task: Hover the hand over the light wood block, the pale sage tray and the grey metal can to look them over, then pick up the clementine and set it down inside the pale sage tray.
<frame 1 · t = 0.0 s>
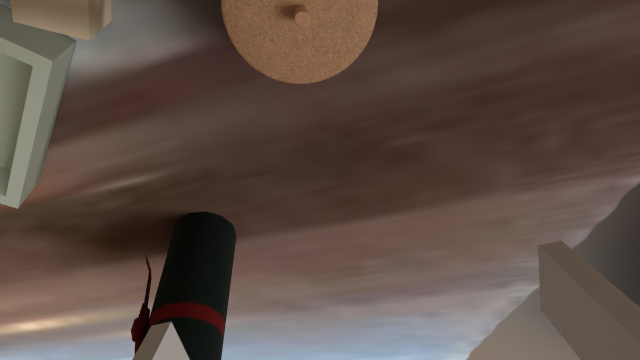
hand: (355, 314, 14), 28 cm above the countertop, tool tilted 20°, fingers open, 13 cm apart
wine bottle: (196, 231, 50), on the countertop
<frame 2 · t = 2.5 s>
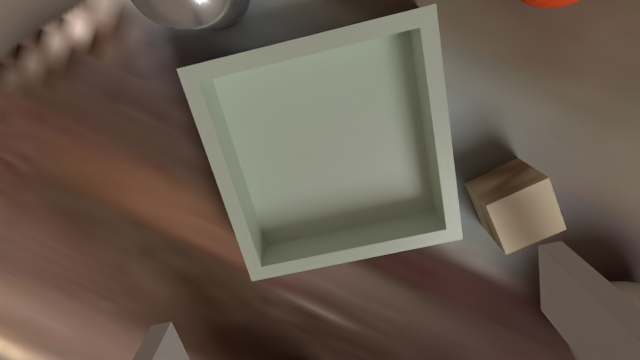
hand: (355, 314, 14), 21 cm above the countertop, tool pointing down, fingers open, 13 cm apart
wood block: (499, 193, 35), on the countertop
sage tray: (330, 144, 33), on the countertop
lidded jar: (596, 304, 40), on the countertop
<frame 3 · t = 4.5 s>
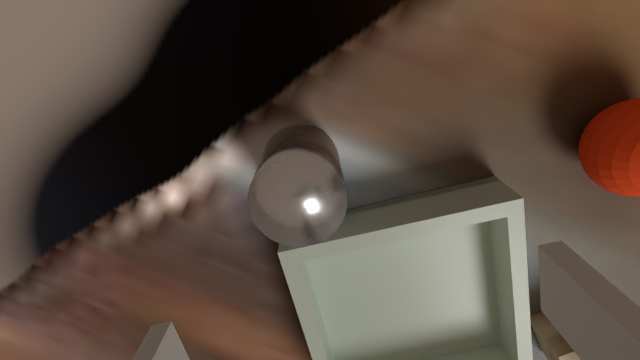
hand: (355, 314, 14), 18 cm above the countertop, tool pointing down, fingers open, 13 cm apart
wood block: (559, 324, 37), on the countertop
clementine: (606, 137, 31), on the countertop
sage tray: (403, 288, 35), on the countertop
metal can: (301, 161, 31), on the countertop
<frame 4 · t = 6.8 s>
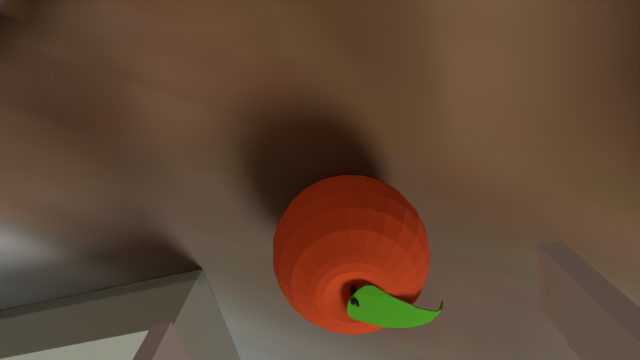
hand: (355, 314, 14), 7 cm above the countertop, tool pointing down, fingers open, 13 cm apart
clementine: (354, 218, 21), on the countertop
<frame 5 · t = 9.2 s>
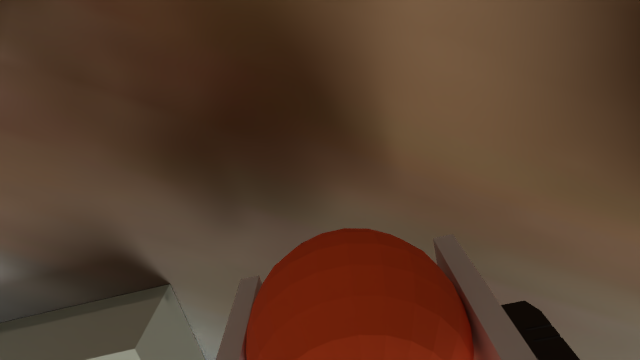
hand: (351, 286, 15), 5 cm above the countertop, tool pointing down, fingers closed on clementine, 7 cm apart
clementine: (359, 275, 16), point 4 cm above the countertop, touching gripper
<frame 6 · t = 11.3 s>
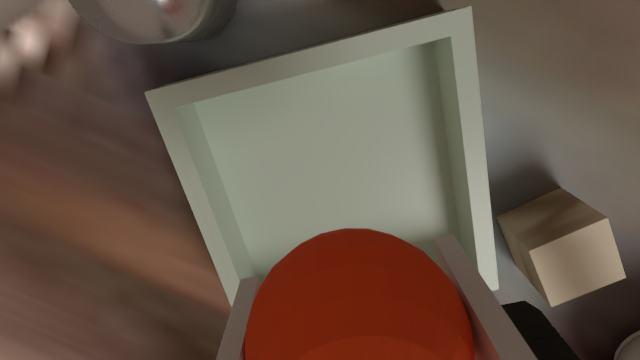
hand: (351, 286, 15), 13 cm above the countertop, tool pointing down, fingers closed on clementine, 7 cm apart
wood block: (537, 227, 29), on the countertop
clementine: (359, 275, 16), point 13 cm above the countertop, touching gripper
sage tray: (336, 175, 28), on the countertop
when the fingers open (2 cm above the countertop, at t = 13.8 s): clementine stays where it is, resting on sage tray.
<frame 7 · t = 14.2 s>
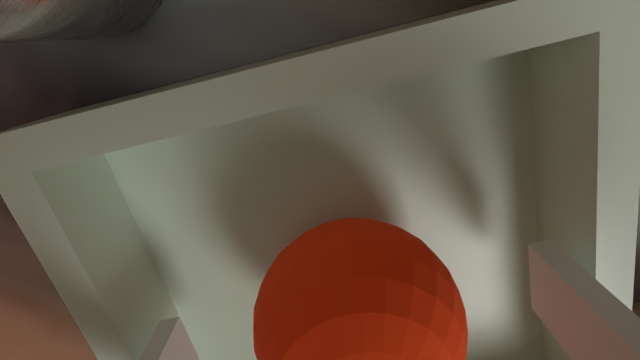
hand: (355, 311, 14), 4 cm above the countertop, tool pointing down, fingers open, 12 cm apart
clementine: (360, 264, 16), point 1 cm above the countertop, touching sage tray
sage tray: (347, 258, 17), on the countertop
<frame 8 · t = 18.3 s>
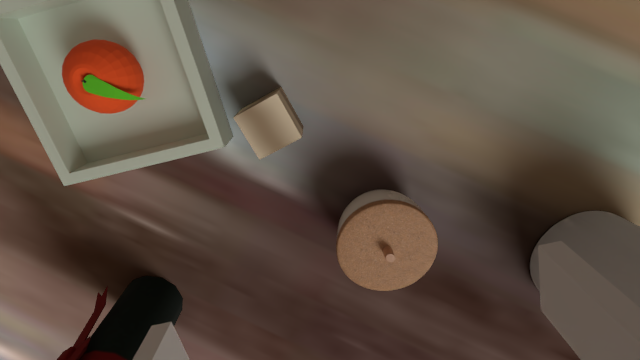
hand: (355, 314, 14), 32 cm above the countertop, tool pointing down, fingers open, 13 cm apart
wood block: (273, 117, 43), on the countertop
clementine: (127, 75, 41), point 1 cm above the countertop, touching sage tray
sage tray: (127, 76, 41), on the countertop
wine bottle: (148, 293, 52), on the countertop
lidded jar: (376, 216, 48), on the countertop
utensil holder: (581, 254, 50), on the countertop
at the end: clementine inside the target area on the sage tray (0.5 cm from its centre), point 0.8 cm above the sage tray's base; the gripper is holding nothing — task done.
